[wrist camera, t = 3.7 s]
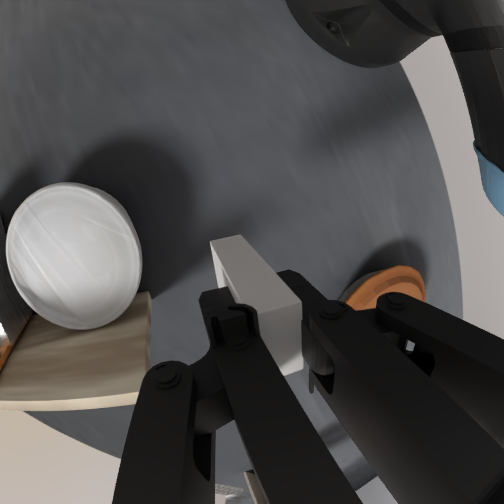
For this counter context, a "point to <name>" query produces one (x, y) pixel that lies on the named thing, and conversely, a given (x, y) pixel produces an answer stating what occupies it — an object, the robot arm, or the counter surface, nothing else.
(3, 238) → the gauge sled
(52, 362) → the scale board
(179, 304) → the counter surface
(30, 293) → the ramekin
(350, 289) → the pie
